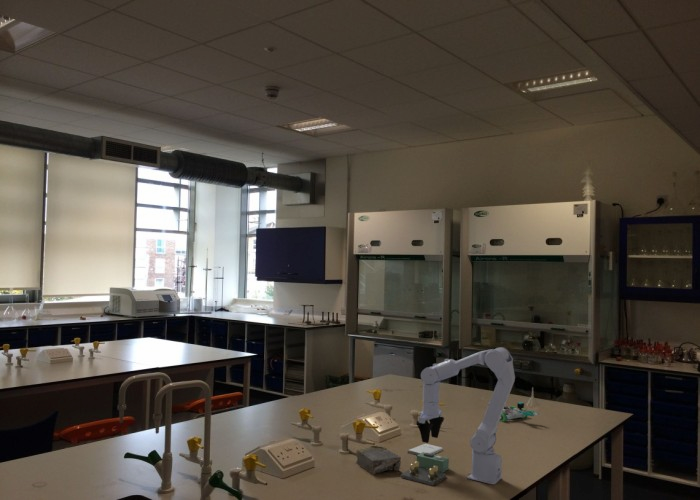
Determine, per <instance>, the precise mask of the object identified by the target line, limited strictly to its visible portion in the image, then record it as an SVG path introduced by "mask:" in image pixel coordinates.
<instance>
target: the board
mask: <svg viewBox="0 0 700 500" xmlns="http://www.w3.org/2000/svg"><path fill="white" fill-rule="evenodd" d="M449 459H450V458H449V457H447V456H442V455H438V454H430V453H425V452H422V453H421V454H419V455H416V461H418V462H419V468H423V469H427V470H429V468H433V466H438V472H439V473H443V474H444V472H445V471H447V470H448V469H449V462H450V461H449Z"/></svg>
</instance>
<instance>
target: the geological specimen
mask: <svg viewBox="0 0 700 500" xmlns="http://www.w3.org/2000/svg"><path fill="white" fill-rule="evenodd" d="M355 454H356V458H357V460H356V462H355V464H357V465H358V466H360V467H361V468H362V469H364V470H365V471H366V472H368V473H369V474H371V475H373V476H374V475H376V474H378V473H379V474H380V473H383V472H386V471H391V470H392V471H395V470H396V471H398V472H399V471H400V469H401V463H402V462H401V456H400V455H398V454H397V453H395V452H394V451H391V450H390V449H387V447H385V446H381V445H372V446H368V447H363V448H358V449H356V452H355Z"/></svg>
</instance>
